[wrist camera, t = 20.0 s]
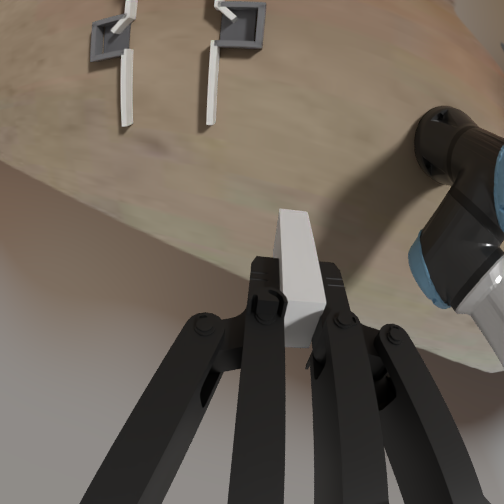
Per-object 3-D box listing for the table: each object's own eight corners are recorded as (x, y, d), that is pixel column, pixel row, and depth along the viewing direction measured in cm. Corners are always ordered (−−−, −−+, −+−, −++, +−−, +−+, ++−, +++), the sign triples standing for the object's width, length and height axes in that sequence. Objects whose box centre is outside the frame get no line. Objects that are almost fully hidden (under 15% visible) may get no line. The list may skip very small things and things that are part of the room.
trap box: (275, -83, 16) (275, -89, 14) (255, 124, 41) (254, 127, 39) (116, -63, 16) (110, -66, 14) (99, 126, 41) (92, 129, 39)
